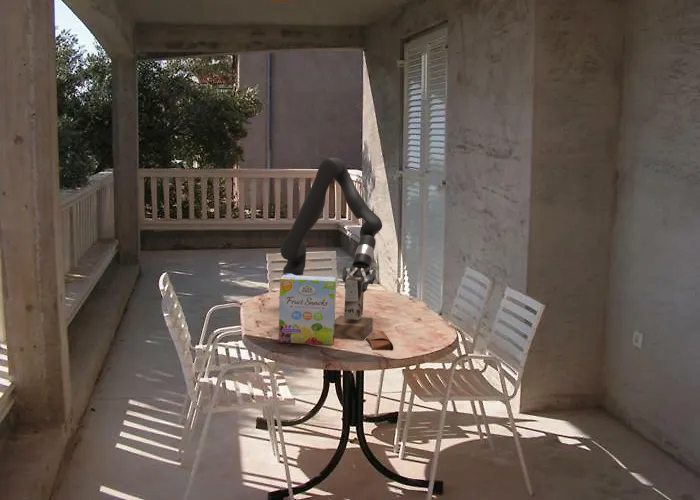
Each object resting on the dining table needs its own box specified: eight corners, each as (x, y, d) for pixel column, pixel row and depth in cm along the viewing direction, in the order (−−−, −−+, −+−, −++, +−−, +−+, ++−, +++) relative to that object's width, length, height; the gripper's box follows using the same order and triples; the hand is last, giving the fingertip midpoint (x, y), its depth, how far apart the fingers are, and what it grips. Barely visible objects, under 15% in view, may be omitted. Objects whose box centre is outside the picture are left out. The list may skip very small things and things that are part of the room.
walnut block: (329, 338, 319) (330, 323, 318) (339, 329, 335) (340, 315, 334) (363, 341, 316) (364, 326, 315) (372, 332, 331) (372, 318, 330)
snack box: (277, 343, 307) (278, 278, 304) (280, 337, 316) (281, 274, 312) (333, 345, 306) (335, 280, 303) (334, 340, 315) (336, 276, 311)
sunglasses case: (363, 338, 319) (372, 324, 318) (377, 346, 320) (386, 333, 320) (371, 350, 301) (381, 335, 301) (387, 359, 302) (396, 344, 302)
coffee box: (359, 320, 319) (360, 280, 317) (343, 318, 320) (345, 279, 318) (363, 315, 328) (365, 276, 326) (348, 313, 329) (349, 275, 327)
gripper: (345, 251, 332) (336, 283, 323) (378, 253, 328) (370, 286, 319) (348, 261, 338) (339, 294, 328) (381, 264, 334) (373, 297, 324)
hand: (354, 290), depth 324 cm, fingers closed on coffee box, 6 cm apart
